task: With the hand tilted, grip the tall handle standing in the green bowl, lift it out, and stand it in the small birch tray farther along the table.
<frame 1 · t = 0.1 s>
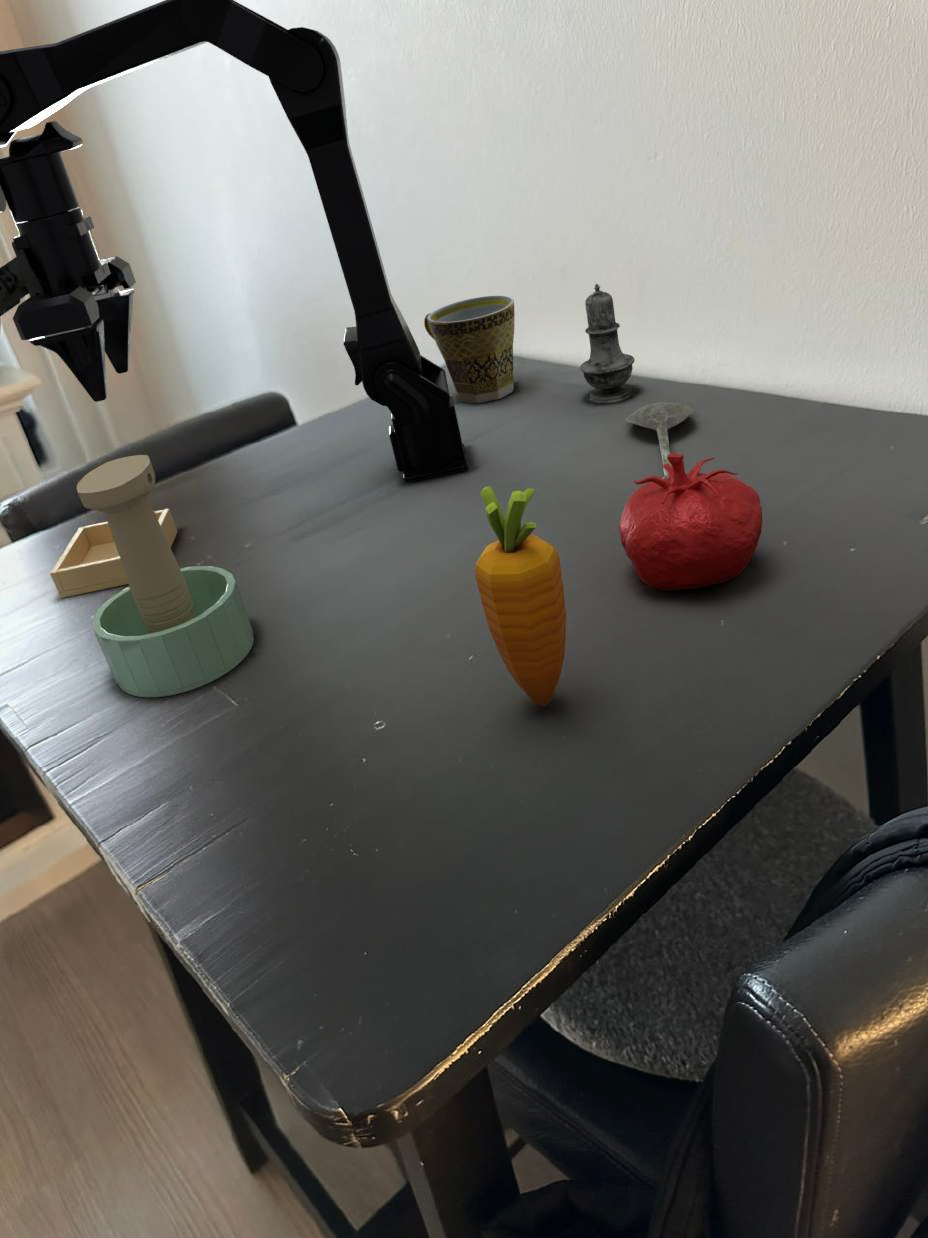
hand: (112, 385, 98), 15 cm above the table, tool pointing down, fingers open, 9 cm apart
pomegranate: (694, 573, 75), on the table
salt shaker: (611, 396, 112), on the table
handle: (185, 654, 79), resting on green bowl
ceramic cup: (477, 393, 122), on the table
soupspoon: (663, 459, 94), on the table
green bowl: (185, 656, 79), on the table
tray: (121, 563, 98), on the table
carrot: (544, 708, 64), on the table
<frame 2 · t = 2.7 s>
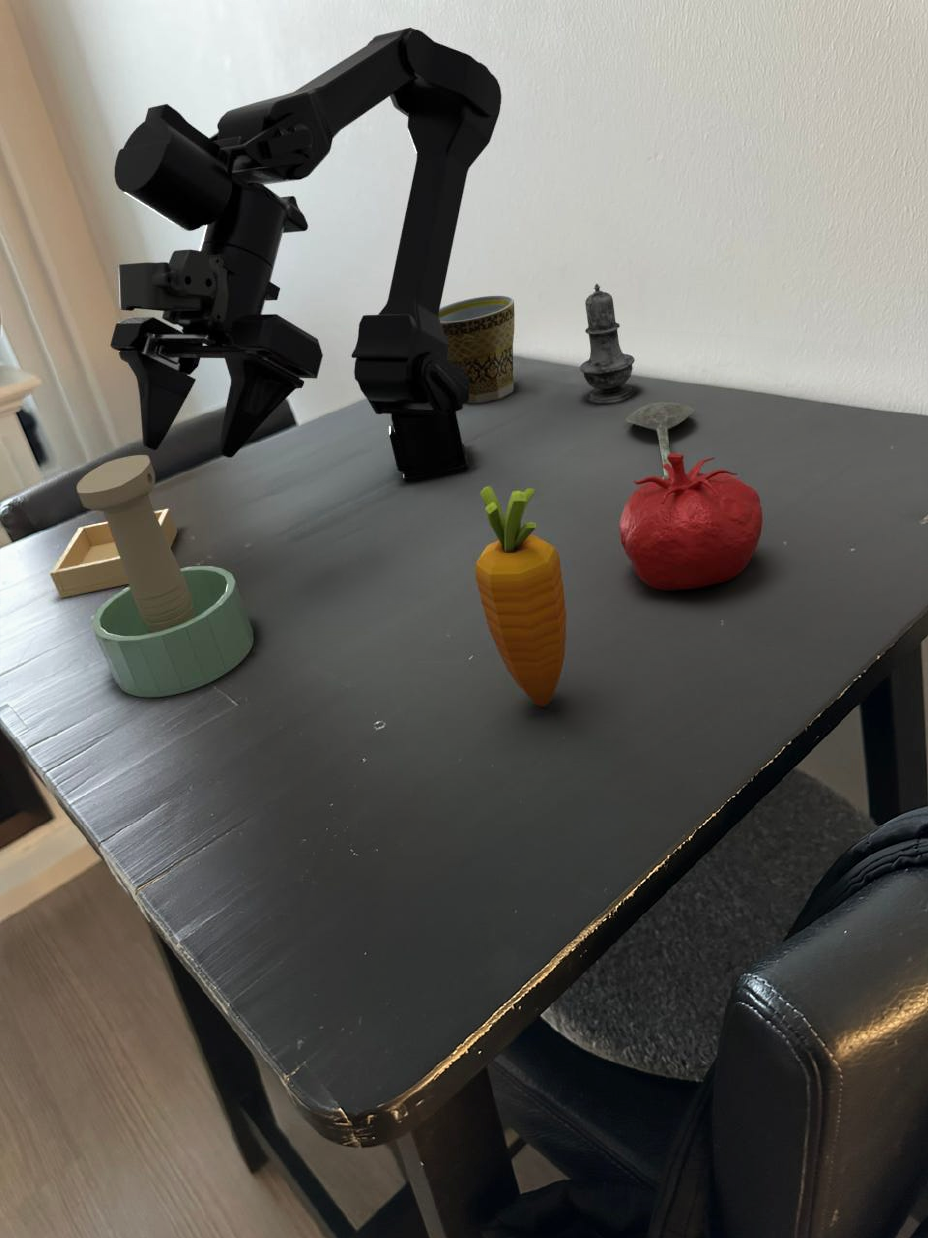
hand: (186, 452, 79), 13 cm above the table, tool tilted 40°, fingers open, 9 cm apart
nothing on the table moved.
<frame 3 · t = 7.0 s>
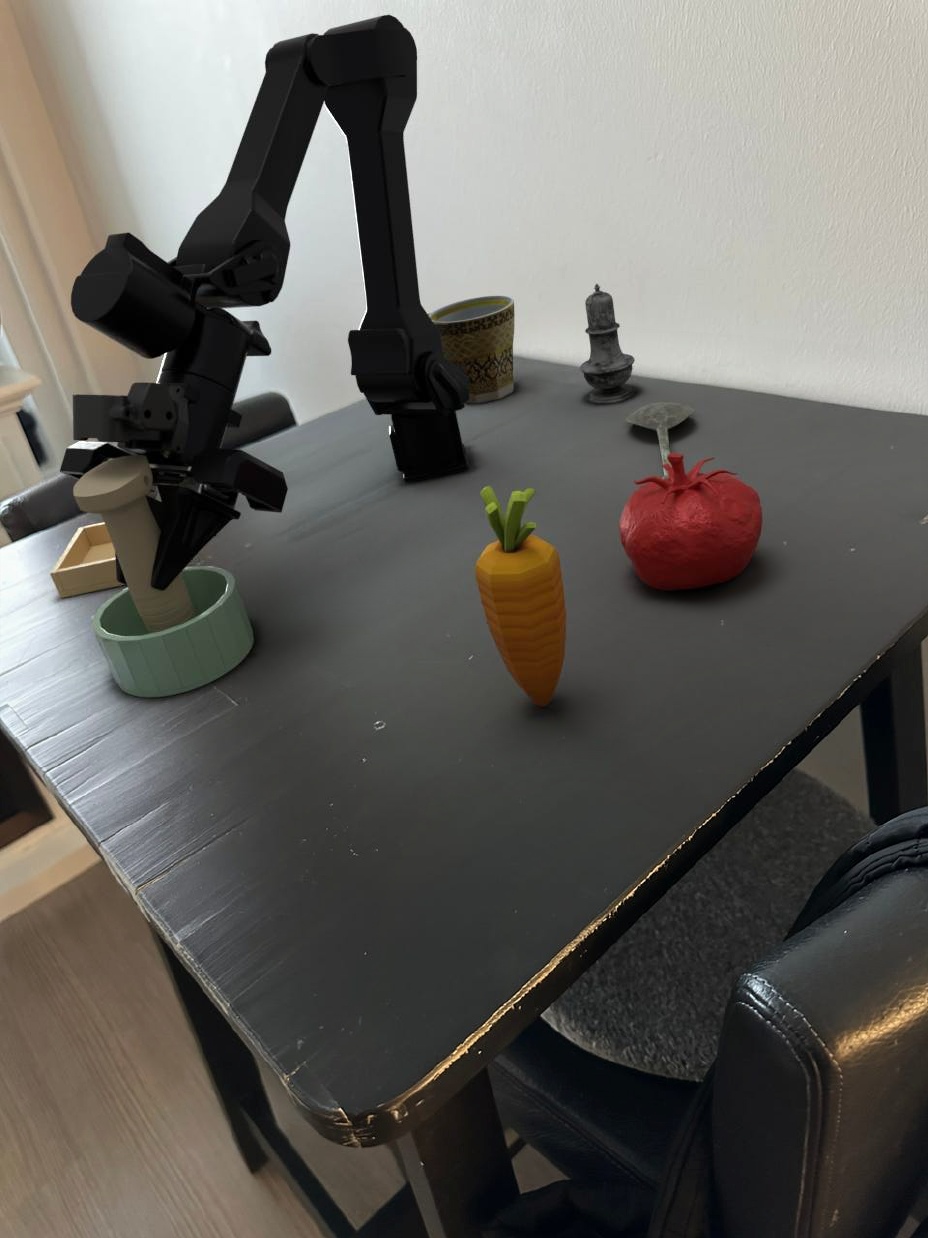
hand: (139, 586, 75), 7 cm above the table, tool tilted 45°, fingers closed on handle, 3 cm apart
handle: (184, 652, 79), resting on green bowl, touching gripper
everything else where it was.
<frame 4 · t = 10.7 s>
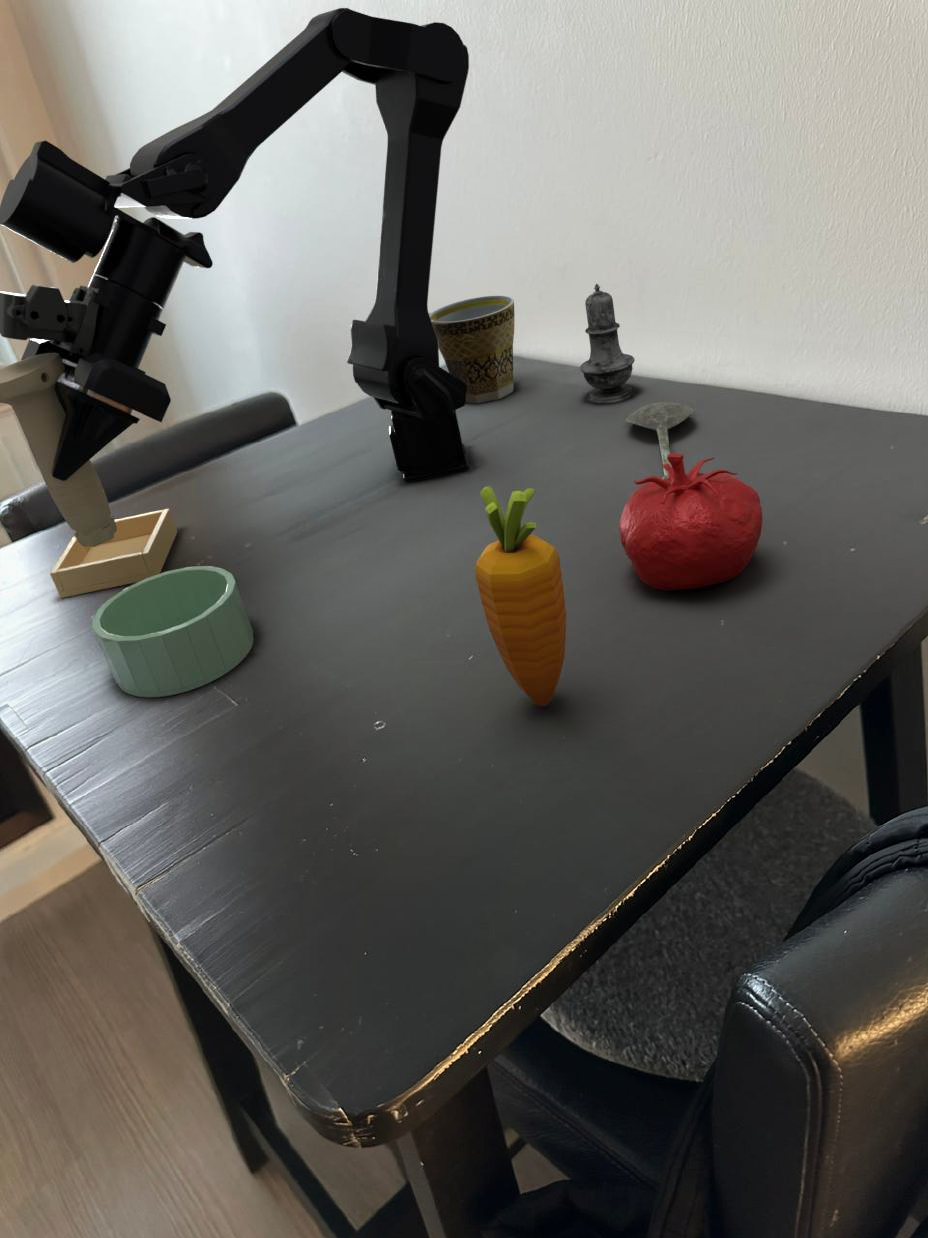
hand: (51, 474, 82), 13 cm above the table, tool tilted 45°, fingers closed on handle, 3 cm apart
handle: (101, 541, 86), point 6 cm above the table, touching gripper
everything else where it was.
when the fingers open (7 cm above the table, at t = 14.3 s): handle stays where it is, resting on tray.
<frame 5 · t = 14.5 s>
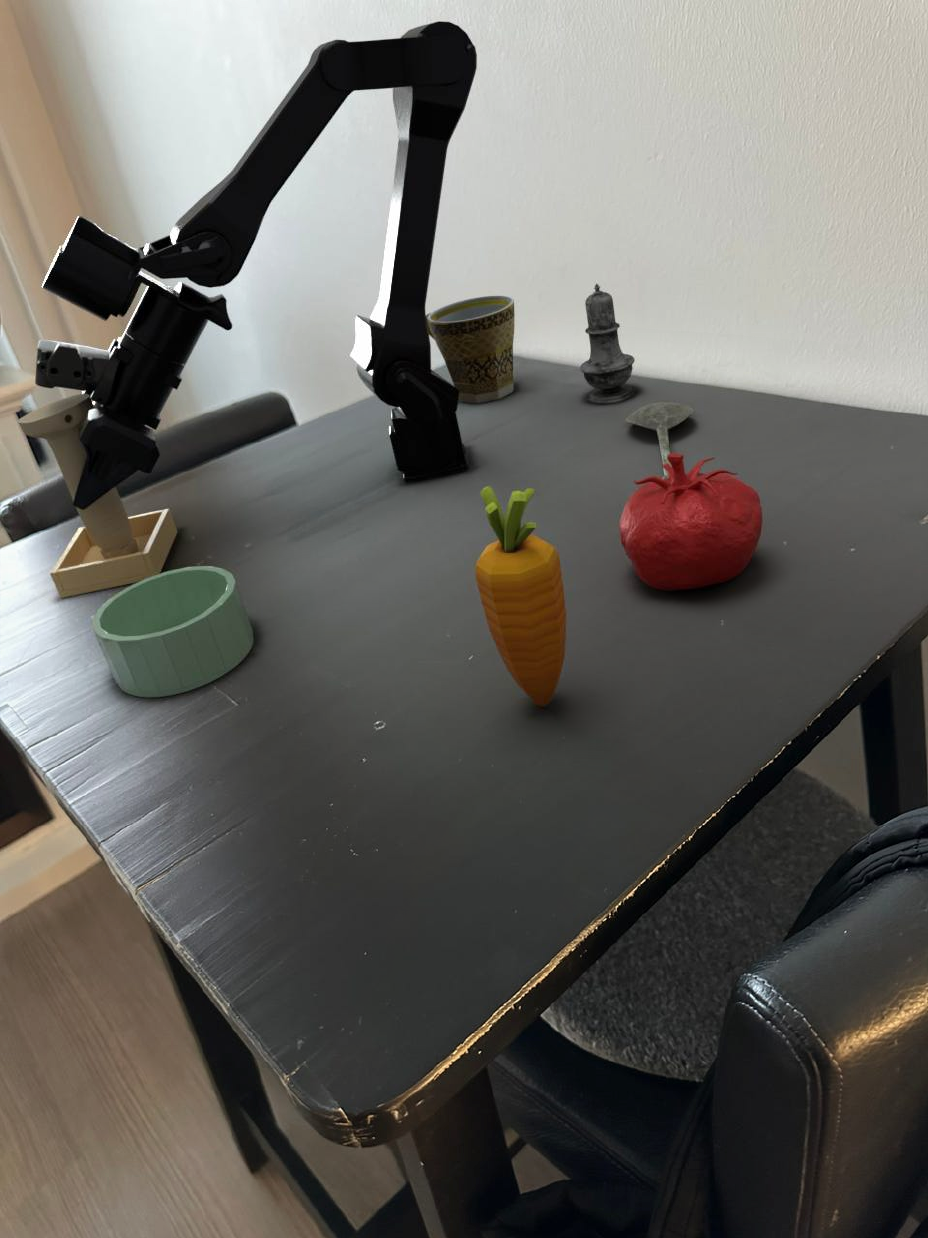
hand: (78, 498, 94), 7 cm above the table, tool tilted 45°, fingers open, 5 cm apart
handle: (124, 558, 98), resting on tray, touching gripper
everything else where it was.
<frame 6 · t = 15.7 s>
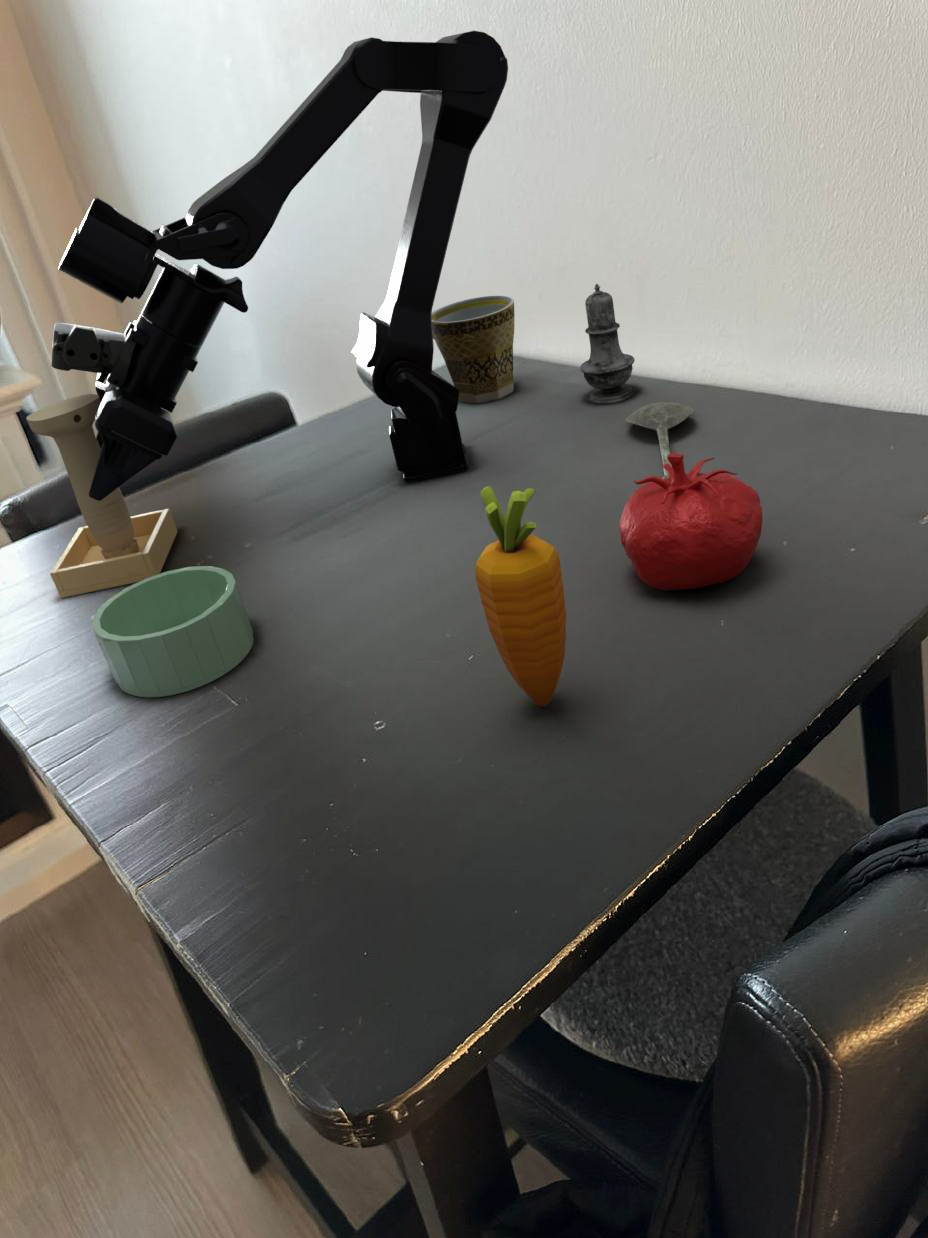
hand: (94, 482, 94), 8 cm above the table, tool tilted 45°, fingers open, 9 cm apart
handle: (124, 558, 98), resting on tray
everything else where it was.
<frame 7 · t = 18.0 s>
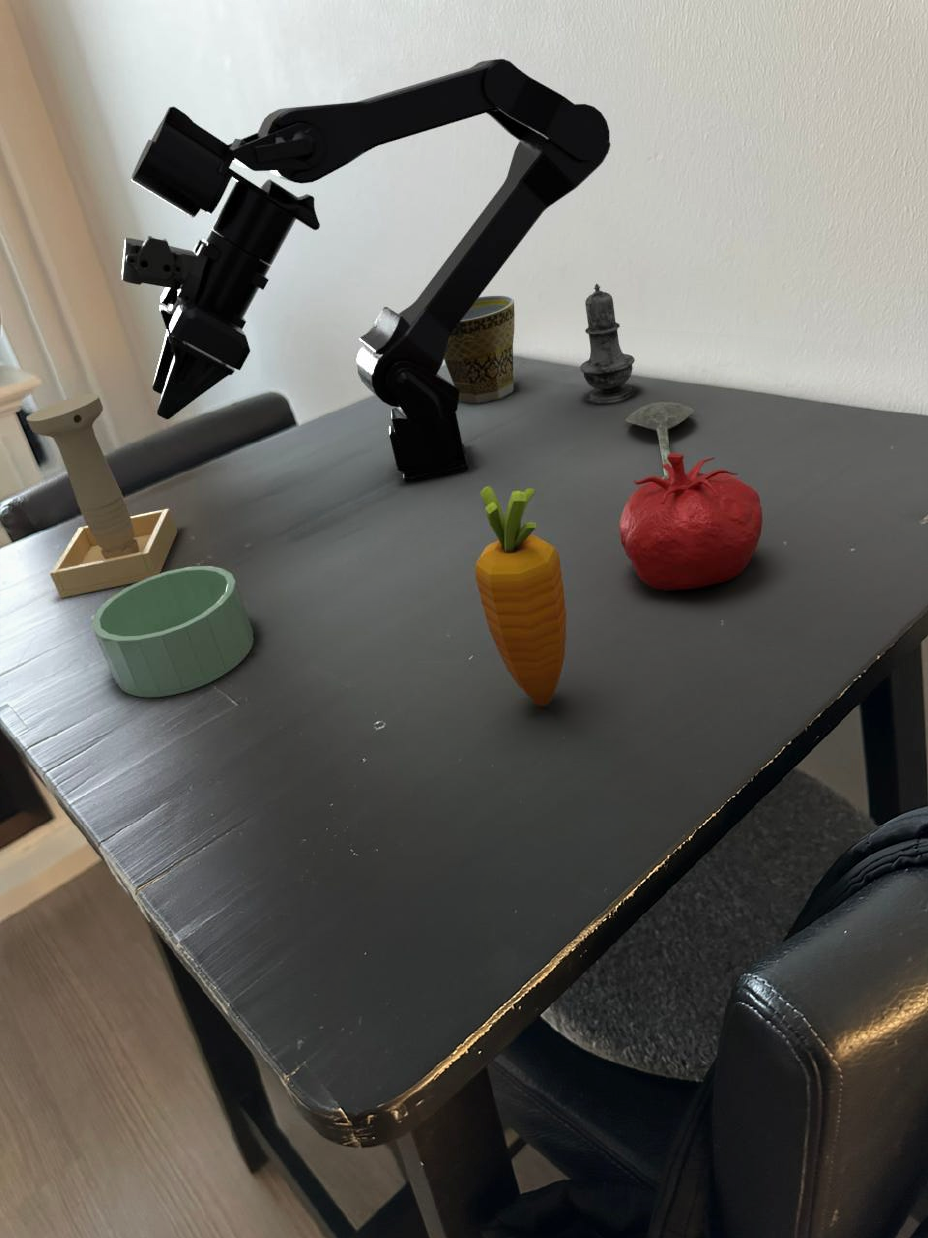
hand: (159, 403, 93), 14 cm above the table, tool tilted 45°, fingers open, 9 cm apart
nothing on the table moved.
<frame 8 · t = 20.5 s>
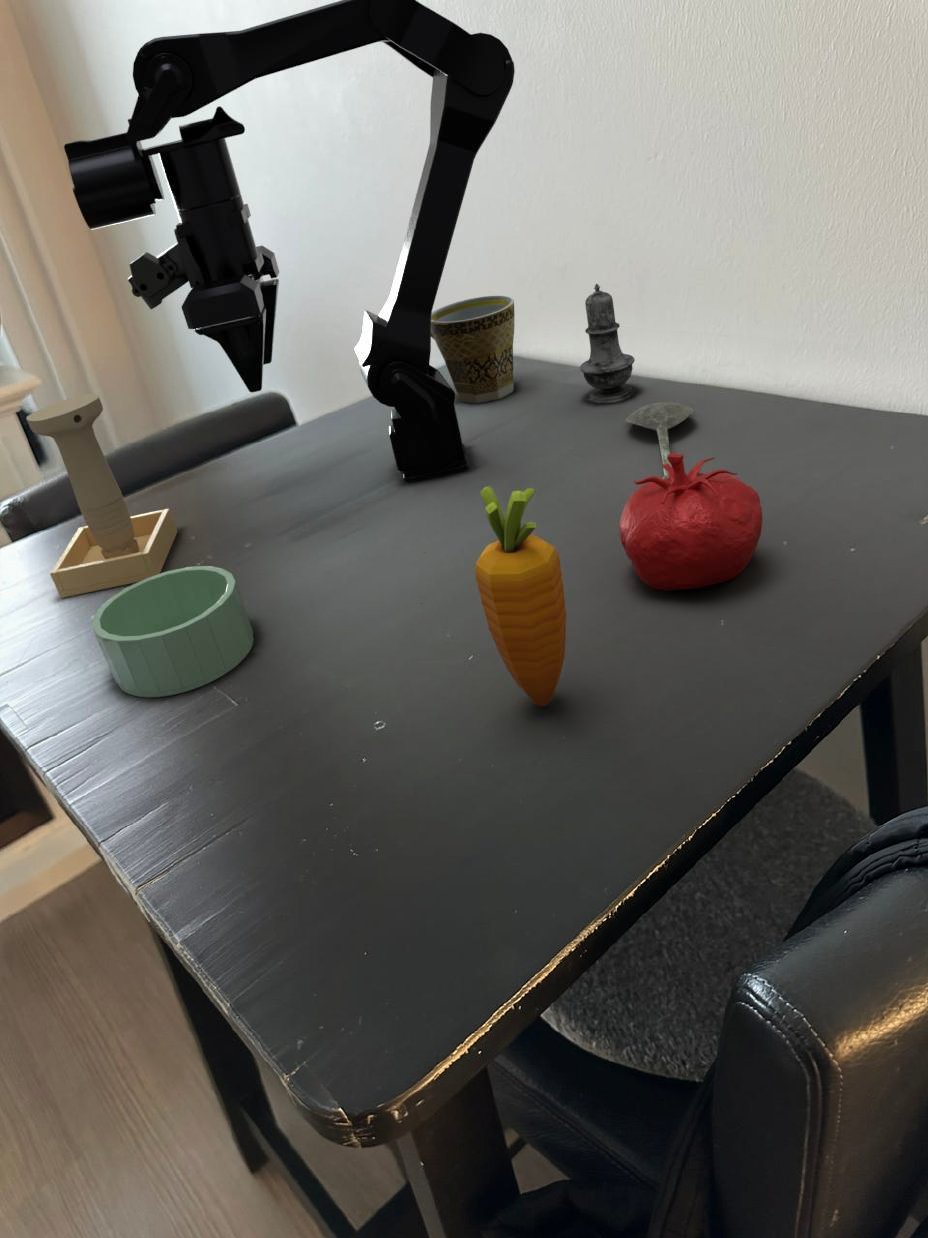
hand: (261, 376, 96), 13 cm above the table, tool pointing down, fingers open, 9 cm apart
nothing on the table moved.
at the end: handle inside the target area in the tray (0.4 cm from its centre), point 0.4 cm above the tray's base; the gripper is holding nothing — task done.
